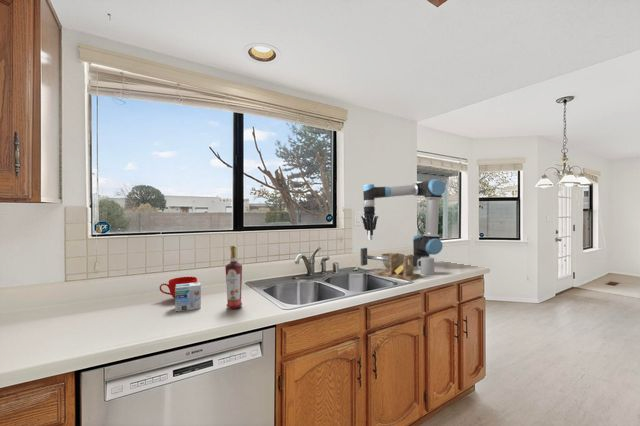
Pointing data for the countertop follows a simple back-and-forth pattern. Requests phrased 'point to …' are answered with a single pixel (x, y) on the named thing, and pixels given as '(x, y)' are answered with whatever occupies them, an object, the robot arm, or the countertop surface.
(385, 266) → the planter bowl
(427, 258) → the mug
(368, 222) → the robot arm
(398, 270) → the collar
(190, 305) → the light bulb box
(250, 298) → the countertop surface
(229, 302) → the liquor
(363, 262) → the shaft
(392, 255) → the bearing block
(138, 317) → the countertop surface
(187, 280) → the ceramic cup
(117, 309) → the countertop surface
